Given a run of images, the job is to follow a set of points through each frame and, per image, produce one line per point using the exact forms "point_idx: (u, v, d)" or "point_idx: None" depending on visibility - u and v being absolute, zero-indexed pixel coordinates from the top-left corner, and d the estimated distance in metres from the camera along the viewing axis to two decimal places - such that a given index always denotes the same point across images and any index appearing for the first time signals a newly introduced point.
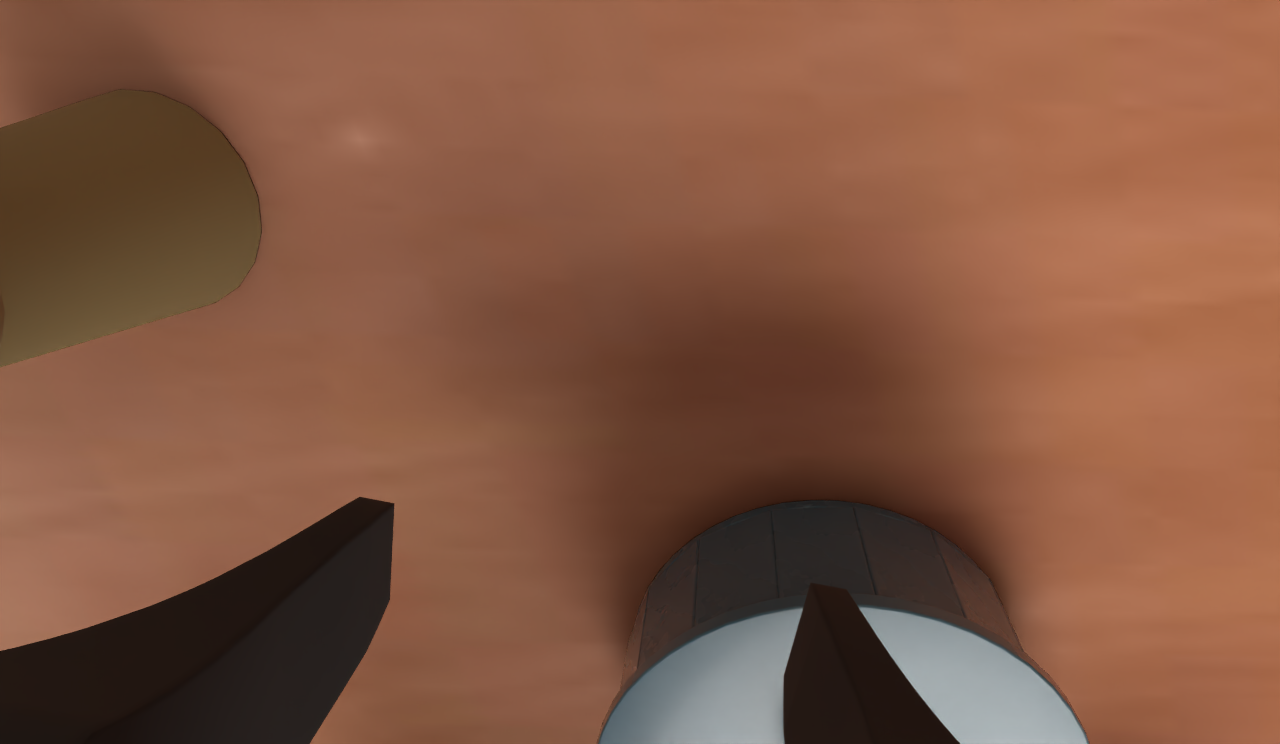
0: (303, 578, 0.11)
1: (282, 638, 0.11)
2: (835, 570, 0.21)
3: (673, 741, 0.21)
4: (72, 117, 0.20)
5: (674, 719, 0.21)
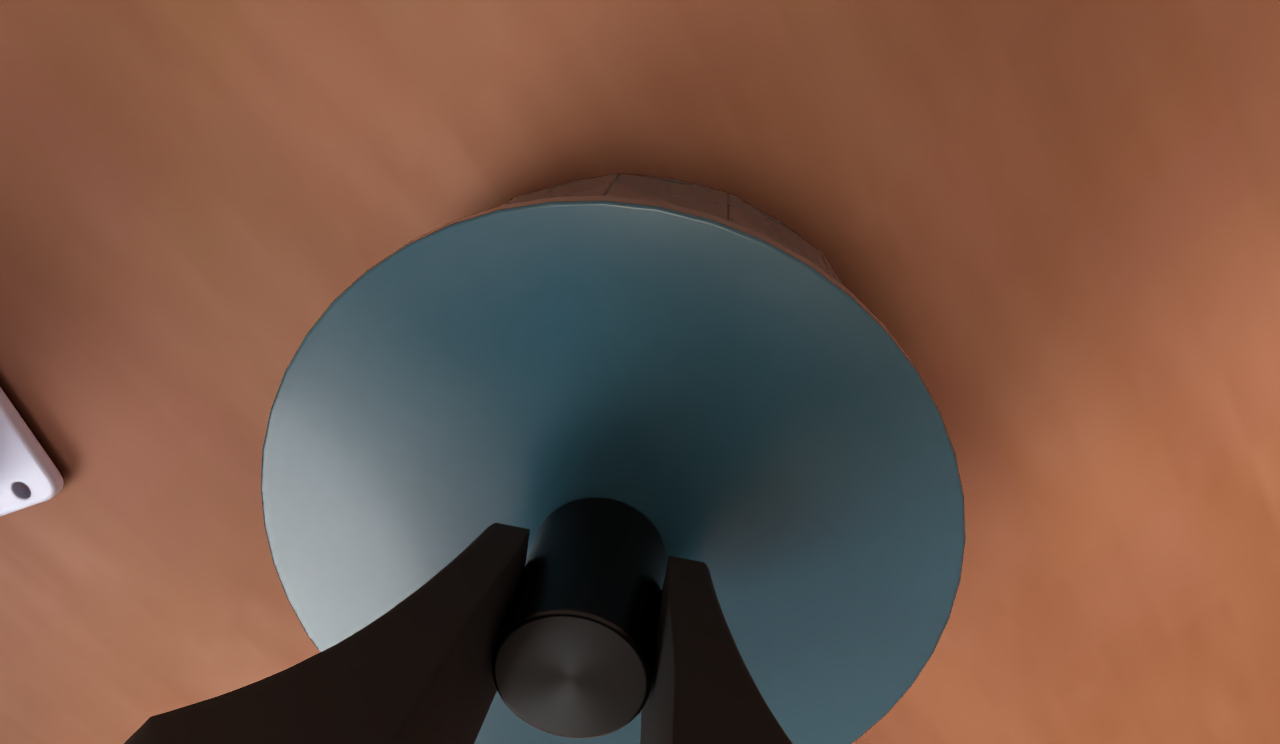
0: (471, 610, 0.11)
1: (456, 672, 0.11)
2: None
3: (563, 312, 0.14)
4: None
5: (599, 292, 0.13)
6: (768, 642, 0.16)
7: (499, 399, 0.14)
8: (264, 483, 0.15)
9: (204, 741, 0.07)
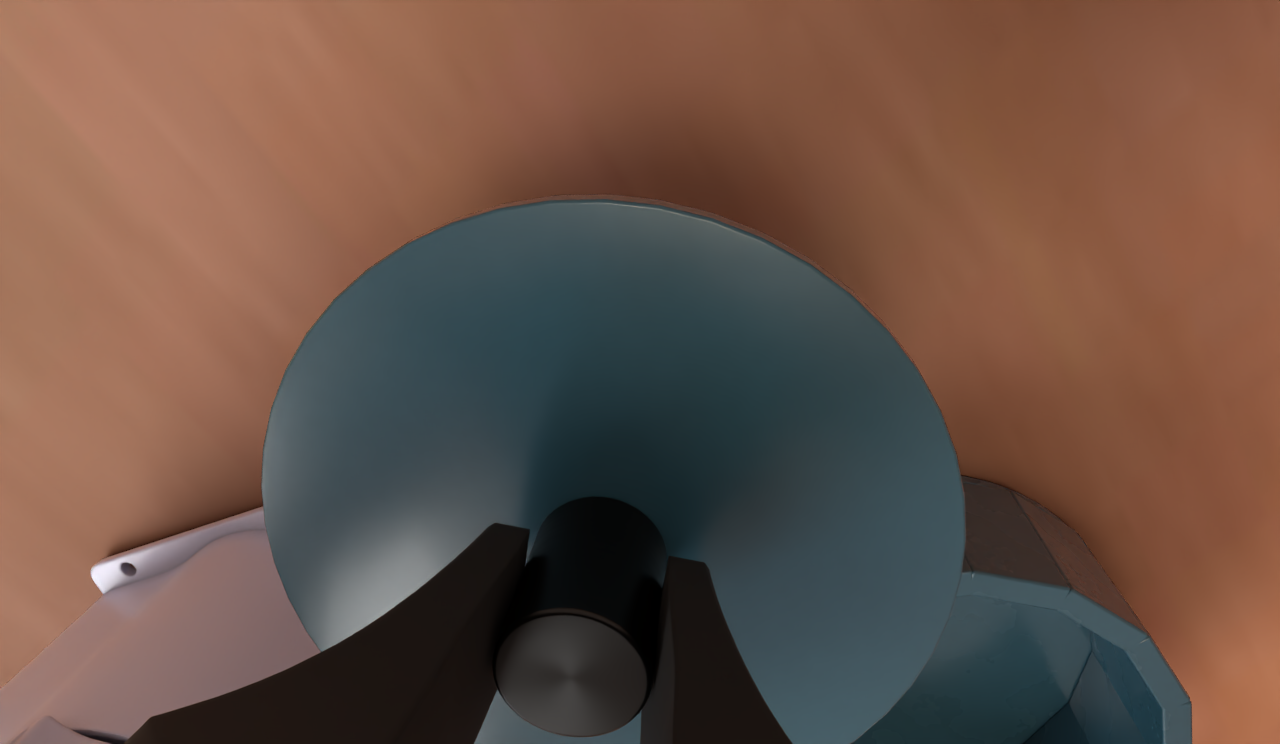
0: (471, 610, 0.11)
1: (456, 672, 0.11)
2: None
3: (564, 310, 0.14)
4: None
5: (600, 291, 0.13)
6: (769, 641, 0.16)
7: (500, 398, 0.14)
8: (263, 482, 0.15)
9: (204, 741, 0.07)
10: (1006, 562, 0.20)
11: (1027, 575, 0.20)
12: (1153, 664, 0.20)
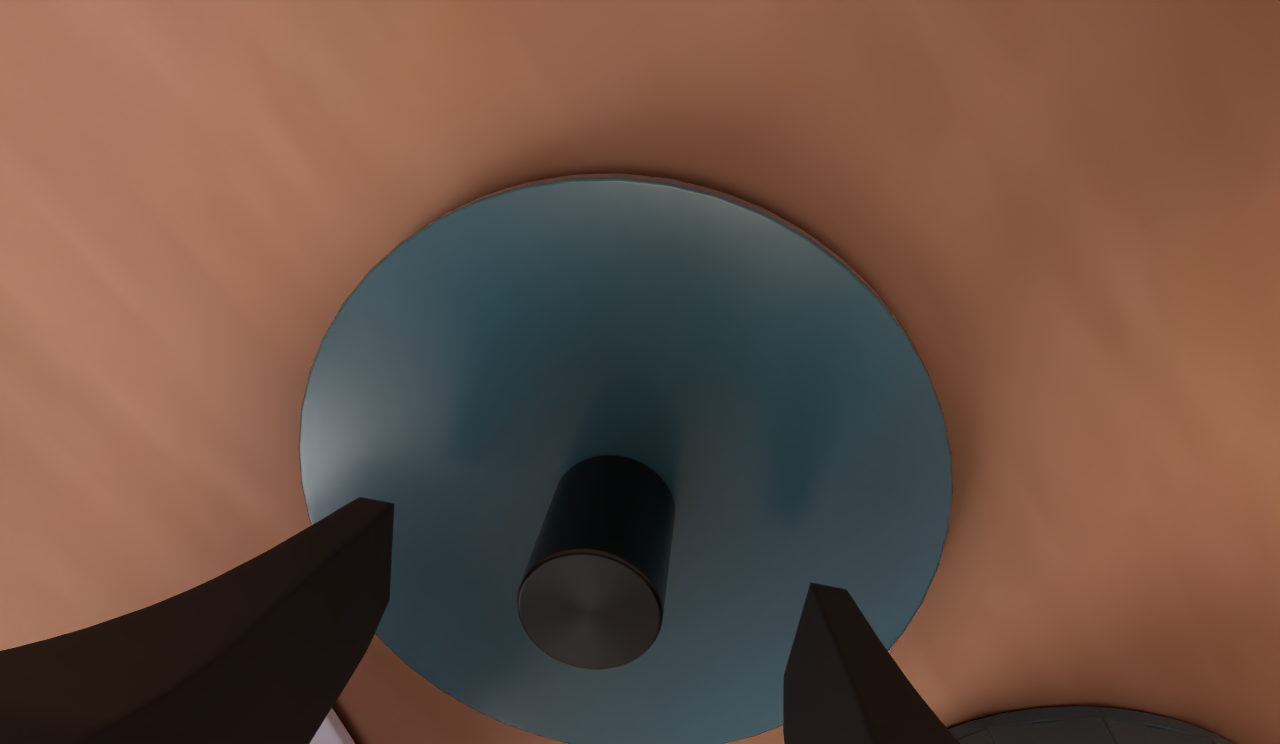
0: (303, 578, 0.11)
1: (282, 638, 0.11)
2: None
3: (581, 281, 0.15)
4: None
5: (615, 262, 0.15)
6: (769, 592, 0.17)
7: (521, 363, 0.16)
8: (302, 443, 0.17)
9: None
10: None
11: None
12: None
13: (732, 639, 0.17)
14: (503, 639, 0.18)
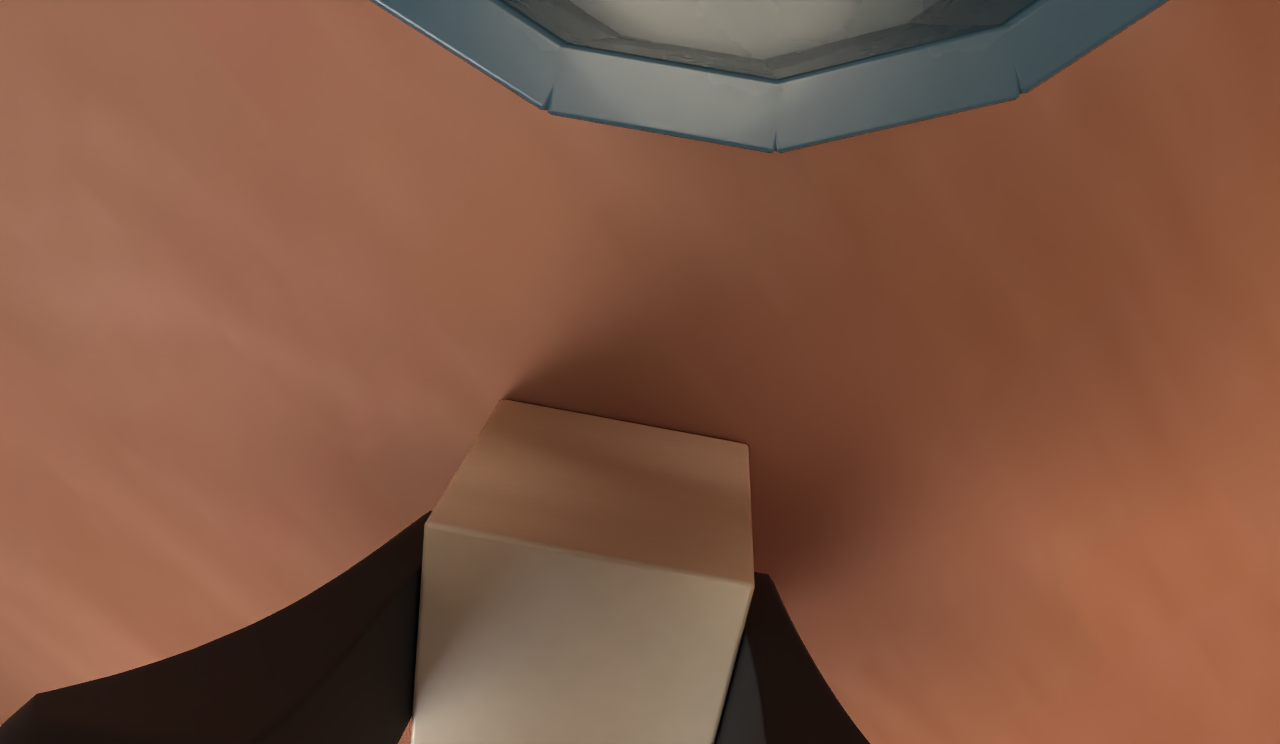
0: (391, 595, 0.11)
1: (374, 656, 0.11)
2: None
3: None
4: None
5: None
6: None
7: None
8: None
9: (84, 717, 0.07)
10: None
11: None
12: None
13: None
14: None
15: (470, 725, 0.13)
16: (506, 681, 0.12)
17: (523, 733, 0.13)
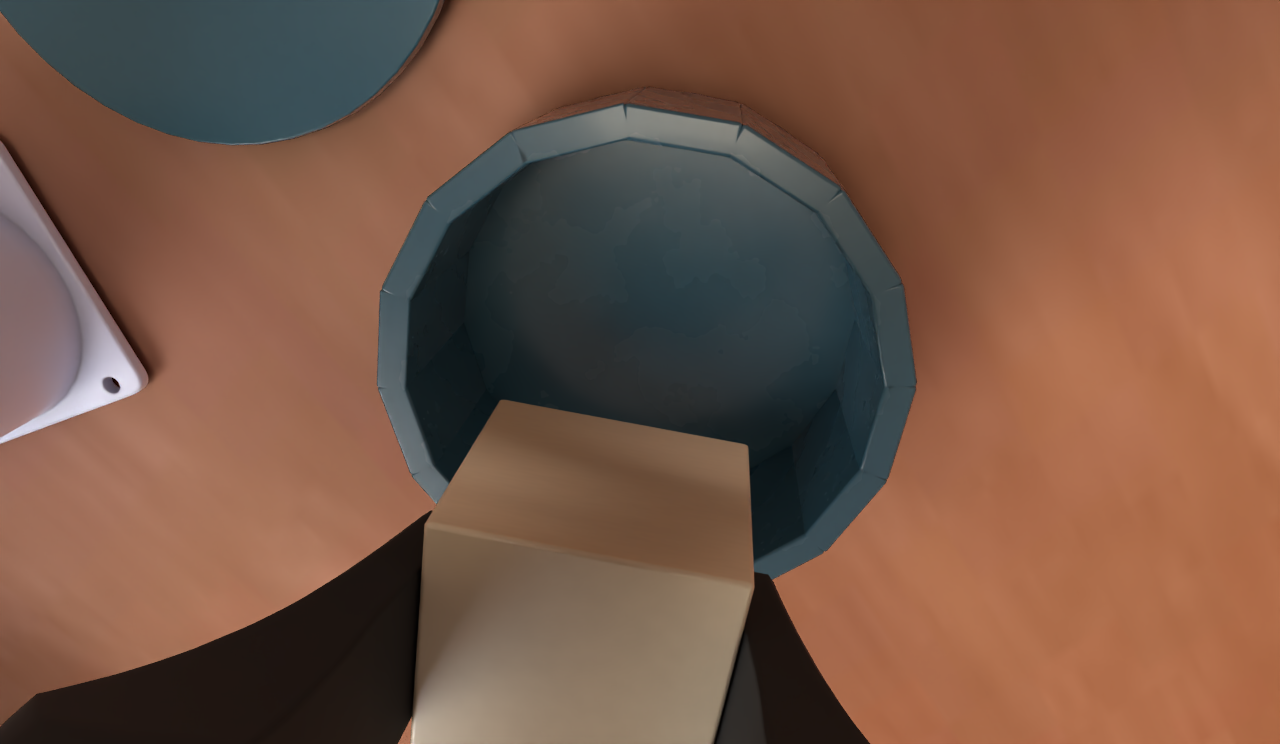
0: (391, 595, 0.11)
1: (374, 656, 0.11)
2: None
3: None
4: None
5: None
6: None
7: None
8: None
9: (85, 717, 0.07)
10: (676, 107, 0.17)
11: (694, 114, 0.17)
12: (851, 229, 0.17)
13: (307, 0, 0.20)
14: (118, 20, 0.21)
15: (470, 725, 0.13)
16: (506, 682, 0.12)
17: (523, 734, 0.13)
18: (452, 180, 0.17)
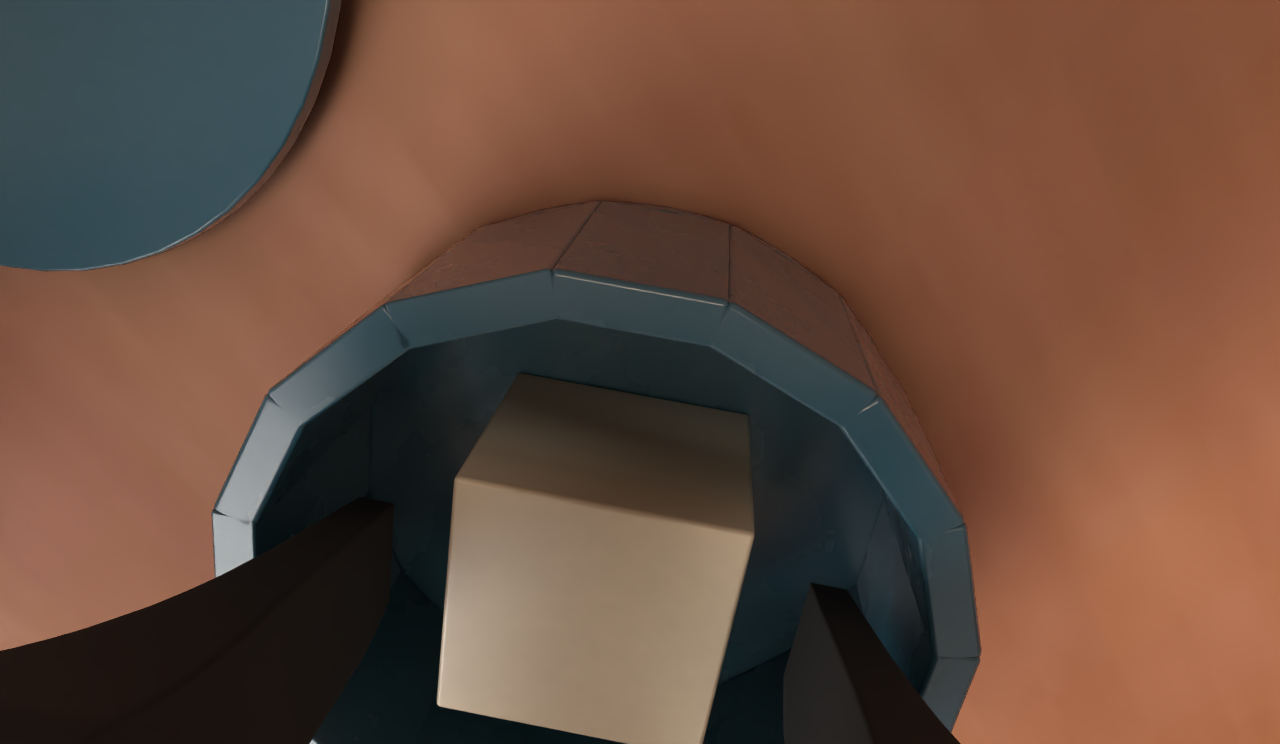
0: (303, 578, 0.11)
1: (282, 638, 0.11)
2: (914, 429, 0.13)
3: None
4: None
5: None
6: (152, 4, 0.14)
7: None
8: None
9: None
10: (631, 268, 0.11)
11: (657, 283, 0.11)
12: (892, 451, 0.11)
13: (131, 84, 0.14)
14: None
15: (493, 668, 0.14)
16: (527, 626, 0.14)
17: (543, 675, 0.14)
18: (302, 369, 0.12)
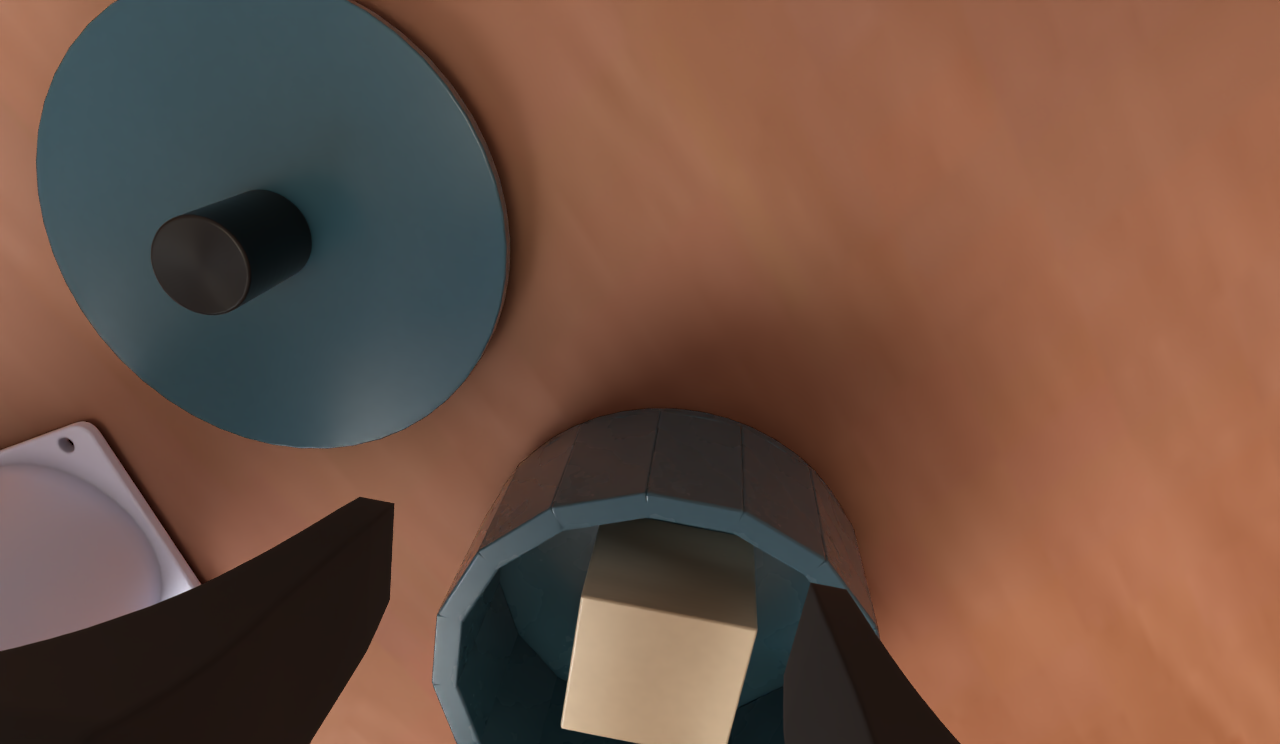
0: (303, 578, 0.11)
1: (282, 638, 0.11)
2: (851, 567, 0.22)
3: (216, 49, 0.21)
4: None
5: (238, 33, 0.20)
6: (391, 302, 0.23)
7: (185, 116, 0.21)
8: (39, 189, 0.23)
9: None
10: (689, 486, 0.20)
11: (704, 498, 0.20)
12: None
13: (372, 345, 0.23)
14: (207, 352, 0.24)
15: (598, 705, 0.23)
16: (620, 681, 0.23)
17: (628, 710, 0.23)
18: (500, 539, 0.21)
